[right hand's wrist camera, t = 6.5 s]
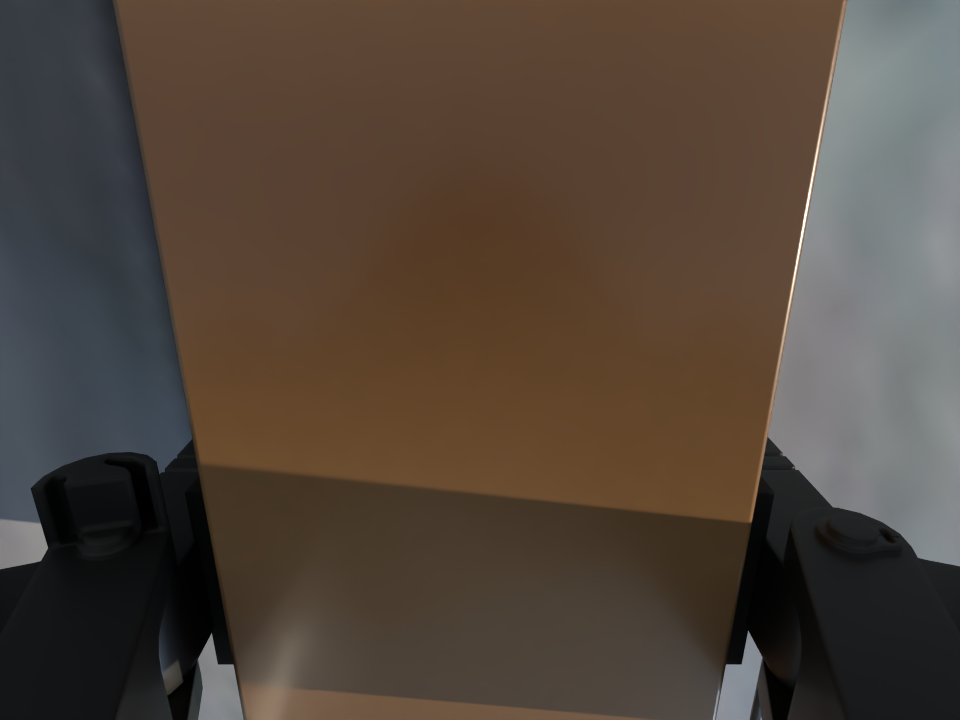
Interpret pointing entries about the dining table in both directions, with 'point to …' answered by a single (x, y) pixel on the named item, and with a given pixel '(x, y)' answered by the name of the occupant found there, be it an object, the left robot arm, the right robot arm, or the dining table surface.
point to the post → (479, 333)
